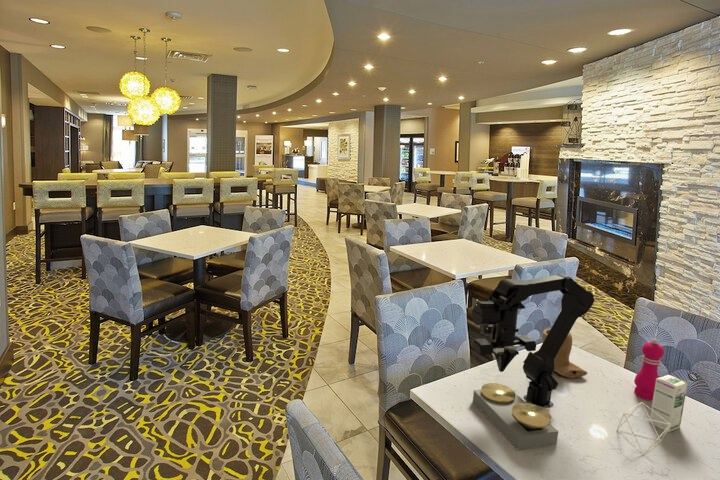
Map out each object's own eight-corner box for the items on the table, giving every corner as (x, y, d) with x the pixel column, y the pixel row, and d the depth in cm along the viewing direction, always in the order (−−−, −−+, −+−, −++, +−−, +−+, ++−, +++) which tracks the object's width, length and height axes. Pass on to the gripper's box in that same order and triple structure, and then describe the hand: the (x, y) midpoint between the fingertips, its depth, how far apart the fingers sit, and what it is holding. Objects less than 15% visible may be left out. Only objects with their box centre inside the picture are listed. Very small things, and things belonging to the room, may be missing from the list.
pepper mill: (661, 402, 147) (672, 344, 143) (637, 399, 149) (647, 341, 145) (652, 391, 154) (662, 335, 150) (629, 388, 156) (638, 333, 152)
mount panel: (506, 397, 147) (507, 386, 146) (556, 444, 124) (558, 431, 123) (472, 401, 143) (473, 390, 143) (517, 450, 121) (519, 436, 120)
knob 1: (502, 395, 147) (503, 381, 146) (520, 412, 138) (522, 398, 137) (474, 398, 144) (475, 384, 144) (491, 416, 135) (492, 401, 134)
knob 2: (533, 416, 132) (535, 401, 131) (557, 437, 122) (559, 421, 121) (503, 420, 129) (505, 405, 128) (524, 442, 119) (526, 425, 119)
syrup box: (668, 433, 131) (677, 386, 128) (647, 422, 136) (656, 377, 133) (680, 428, 134) (689, 382, 131) (659, 417, 139) (667, 373, 136)
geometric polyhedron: (667, 461, 119) (673, 430, 117) (619, 449, 123) (625, 418, 121) (659, 436, 130) (664, 406, 128) (615, 425, 134) (620, 396, 133)
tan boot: (531, 362, 172) (536, 325, 169) (557, 359, 176) (562, 322, 173) (559, 382, 158) (565, 341, 155) (587, 378, 162) (593, 338, 159)
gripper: (518, 311, 146) (512, 357, 149) (464, 314, 141) (460, 361, 144) (540, 324, 135) (533, 373, 138) (483, 328, 130) (478, 379, 133)
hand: (500, 371), depth 139 cm, fingers closed
